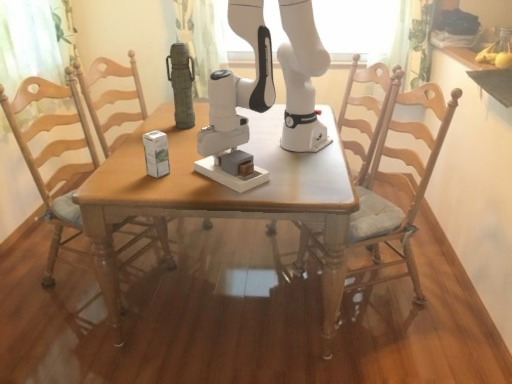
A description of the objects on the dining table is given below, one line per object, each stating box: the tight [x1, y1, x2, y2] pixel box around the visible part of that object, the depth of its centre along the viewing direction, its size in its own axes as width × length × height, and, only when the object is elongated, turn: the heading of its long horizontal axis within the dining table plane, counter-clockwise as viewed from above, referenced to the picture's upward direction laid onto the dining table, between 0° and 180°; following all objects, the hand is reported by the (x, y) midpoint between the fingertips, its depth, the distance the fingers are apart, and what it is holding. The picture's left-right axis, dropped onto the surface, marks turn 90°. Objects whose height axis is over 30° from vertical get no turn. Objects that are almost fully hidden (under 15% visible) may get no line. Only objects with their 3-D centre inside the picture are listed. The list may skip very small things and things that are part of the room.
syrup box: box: [142, 130, 171, 179], centre depth 142 cm, size 6×6×14 cm
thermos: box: [165, 42, 196, 130], centre depth 182 cm, size 9×12×35 cm
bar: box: [214, 150, 255, 177], centre depth 141 cm, size 4×15×4 cm, turn 44°
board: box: [193, 149, 271, 194], centre depth 142 cm, size 13×24×8 cm, turn 44°
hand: (224, 161), depth 144 cm, fingers closed on bar, 4 cm apart
